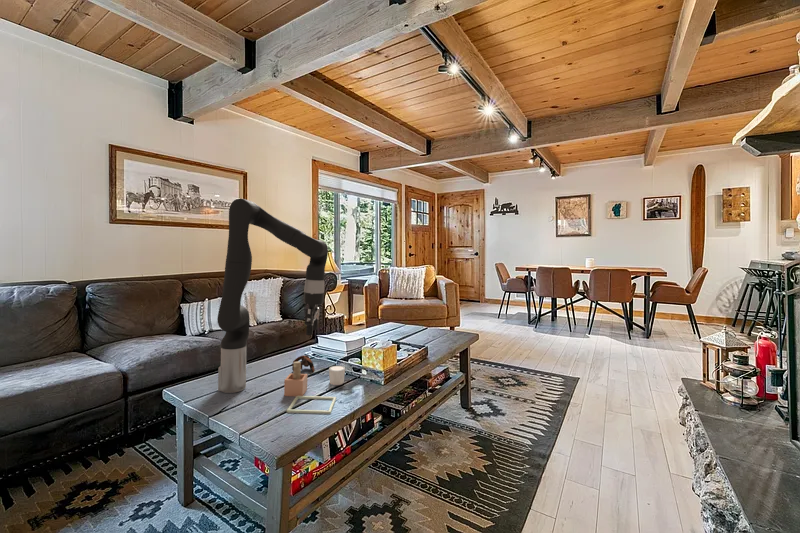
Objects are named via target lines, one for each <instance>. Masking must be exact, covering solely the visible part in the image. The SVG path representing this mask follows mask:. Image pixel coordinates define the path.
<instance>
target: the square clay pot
mask: <svg viewBox="0 0 800 533" xmlns="http://www.w3.org/2000/svg"><path fill="white" fill-rule="evenodd" d="M293 374H294V372H293V373H292V372H291V373H289V374H288V375H287V376H286V378H284V384H283V385H284V386H283V387H284V389H283V390H284V391H283V392H284V393H283V395H284V397H296V396H305V394H306V392H307V390H308V376H309V374H308V373H300V380H295V379H293Z"/></svg>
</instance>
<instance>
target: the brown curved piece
mask: <svg viewBox="0 0 800 533" xmlns="http://www.w3.org/2000/svg"><path fill="white" fill-rule="evenodd" d="M297 361H298V362H301V371H303V366H304V368H306V367H307V368H309V369H311V371H312V373H314V372H315V370H316V369H315V365H314V362H313V361H312V359H311V358H310V356H309V355H307V354H305V355H300V356H298V357H297V358H295V359H294V360H293V361H292V363H291V366H292V368H291V369H292V372H294V362H297Z"/></svg>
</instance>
